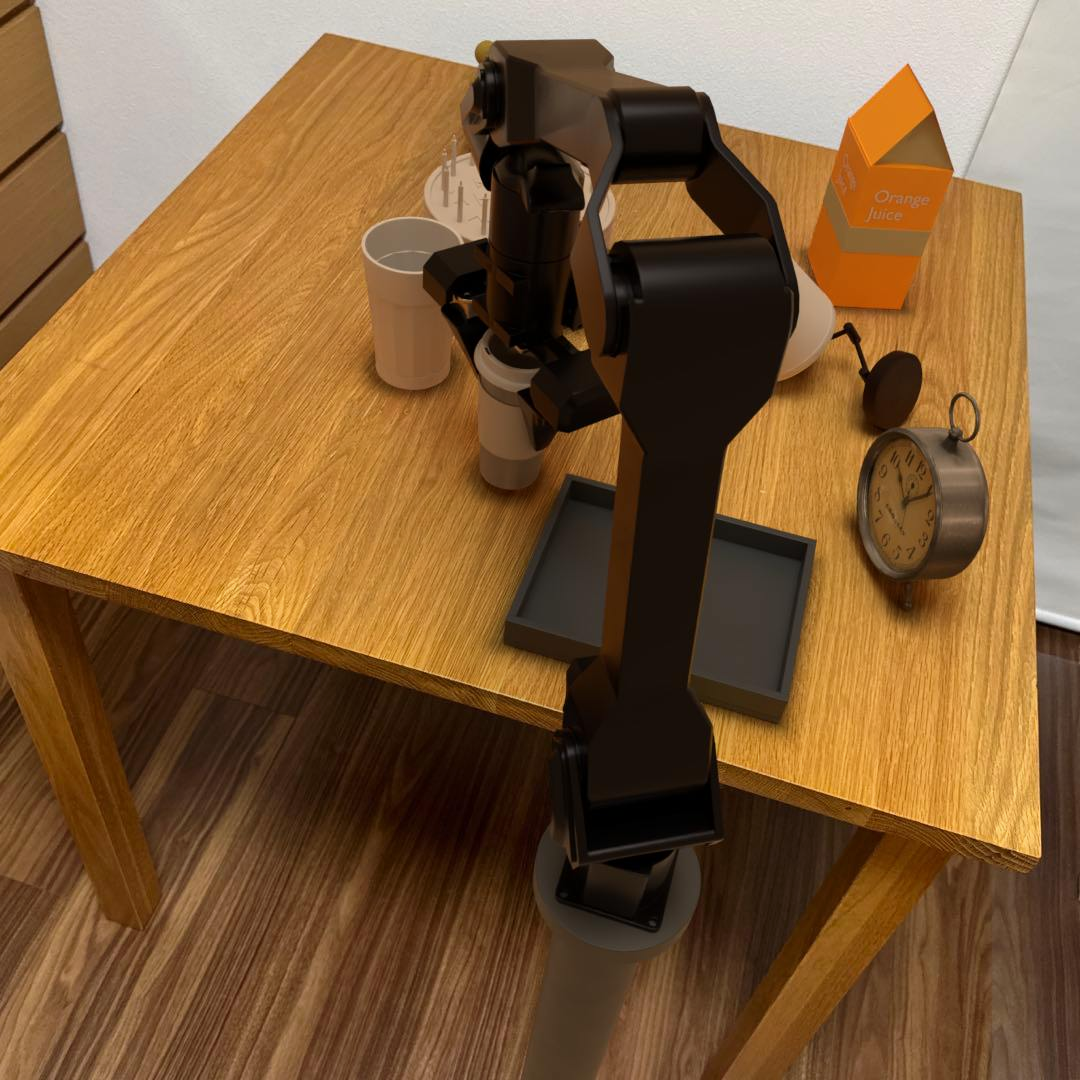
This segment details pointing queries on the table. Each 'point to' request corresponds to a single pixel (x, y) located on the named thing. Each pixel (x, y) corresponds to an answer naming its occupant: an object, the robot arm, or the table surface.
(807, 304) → the light fixture
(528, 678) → the table surface
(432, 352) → the cup
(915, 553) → the alarm clock
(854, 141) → the orange juice
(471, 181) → the cake
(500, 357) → the cup
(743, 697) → the tray
